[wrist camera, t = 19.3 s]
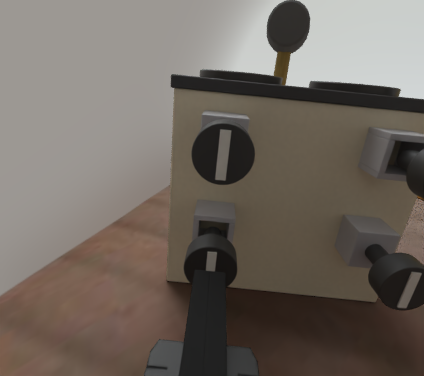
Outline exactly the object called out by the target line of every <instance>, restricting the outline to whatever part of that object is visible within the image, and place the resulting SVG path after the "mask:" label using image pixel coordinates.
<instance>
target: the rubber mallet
mask: <svg viewBox="0 0 424 376" xmlns="http://www.w3.org/2000/svg"><path fill="white" fill-rule="evenodd" d="M309 27H310V16H309V12H308V10H307V8H306V7H305V5H303V4H302V3H301V2H299V1H295V0H287V1H284V2H282V3H280V4H278V5H277V7H275V8H274V9H273V11H272V13H271V14H270V16H269V19H268V22H267V38H268V41H269V44H270V45H271V47H272V48H273V49H274V50H275V51H276V52H278V54H277V59H276V65H275V71H274V76H277V77H281V78H283V80H282V85H285V84H286V78H287V72H288V66H289V60H290V54H291V53H293V52H295V51H296V50H298V49H299V48H300V47H301V46H302V45H303V43H304V42H305V40H306V39H307V35H308V33H309Z"/></svg>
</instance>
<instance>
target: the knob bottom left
mask: <svg viewBox="0 0 424 376" xmlns="http://www.w3.org/2000/svg"><path fill="white" fill-rule="evenodd" d="M195 270H204V271H214V272H224V273H226V287H228V286H229V285H230V284H231V283H232V282H233V281H234V279H235V278H236V275H237V256H236V250H235V248H234V246H233V244H232V243H231V242H230V241H229V240H228V239H226V238H224V237H222V233H221V231H220V229H218V228H217V227H209V228H207V229H206V230H205V232H204V235H202V236H199V237H197V238H196V239H194V240H193V241H192V242H191V243H190V245H189V246H188V248H187V252H186V257H185V261H184V274H185V276H186V278H187V280H188V281H189V282H190V283H191V284H193V278H194V271H195Z"/></svg>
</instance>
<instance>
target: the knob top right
mask: <svg viewBox="0 0 424 376" xmlns="http://www.w3.org/2000/svg"><path fill="white" fill-rule="evenodd" d="M396 163H397V165H398V166H399V167H400V168H402V169H404V170H406V171H407V173H406V181H407V185H408V187H409V189H410V190H411V191H412V192H413V193H414V194H415V195H417V196H419V197H420V198H422V199H424V149H423V150H422V151H420V152H418V151H416V150H413V149H406V150H403V151H402V152H400V153H399V154H398V156H397V159H396Z"/></svg>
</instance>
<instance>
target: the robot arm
mask: <svg viewBox="0 0 424 376" xmlns="http://www.w3.org/2000/svg"><path fill="white" fill-rule="evenodd" d="M144 376H259V371H258V363H257V360H256V358H255V356H254V354H253V352H252V350H251V348H248V347H238V346H228V345H227V332H226V273H224V272H214V271H204V270H195V271H194V278H193V284H192V291H191V298H190V304H189V311H188V318H187V324H186V331H185V338H184V342H181V341H171V340H161V339H159V340H158V342H157V343H156V344H155V346H154V347H153V348H152V350H151V351H150V355H149V359H148V362H147V367H146V370H145V373H144Z"/></svg>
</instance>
